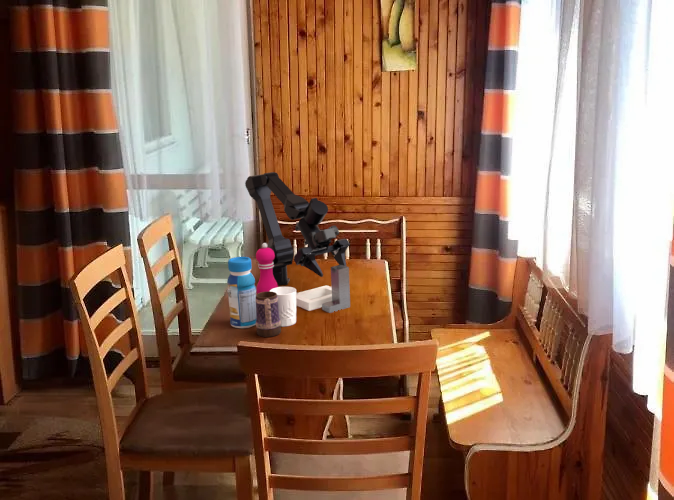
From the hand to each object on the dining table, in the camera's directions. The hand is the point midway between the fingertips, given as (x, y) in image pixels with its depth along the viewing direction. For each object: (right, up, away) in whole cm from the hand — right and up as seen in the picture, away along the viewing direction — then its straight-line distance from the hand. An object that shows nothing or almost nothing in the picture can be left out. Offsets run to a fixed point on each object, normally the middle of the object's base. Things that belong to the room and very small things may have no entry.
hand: (334, 273), depth 233 cm
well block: (-5, -9, +7) cm, 12 cm away
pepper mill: (-21, -10, +7) cm, 24 cm away
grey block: (+1, -11, -1) cm, 11 cm away
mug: (-19, -17, -21) cm, 33 cm away
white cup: (-15, -15, -11) cm, 23 cm away
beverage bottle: (-27, -15, -11) cm, 33 cm away
